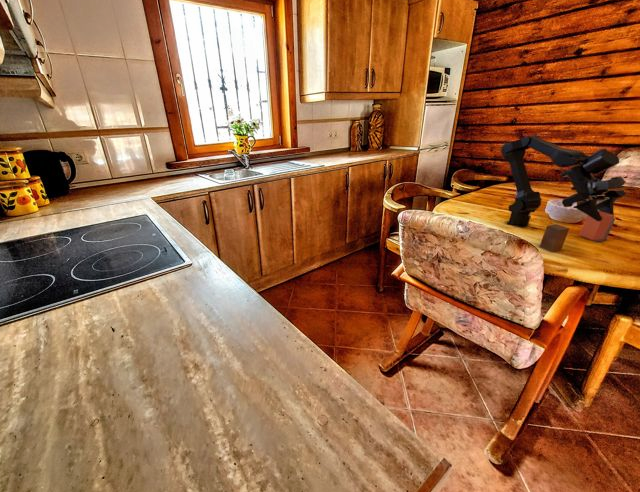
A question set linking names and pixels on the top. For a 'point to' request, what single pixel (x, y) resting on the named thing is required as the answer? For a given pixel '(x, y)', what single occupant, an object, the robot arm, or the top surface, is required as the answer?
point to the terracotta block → (596, 226)
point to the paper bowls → (564, 212)
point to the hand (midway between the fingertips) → (605, 220)
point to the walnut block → (554, 237)
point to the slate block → (606, 233)
